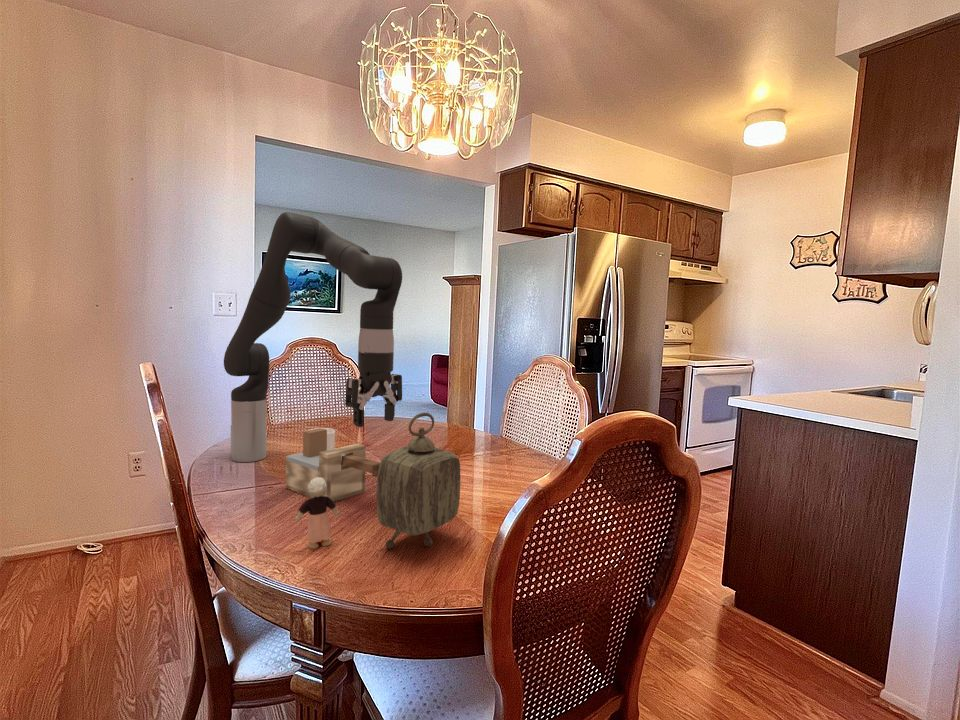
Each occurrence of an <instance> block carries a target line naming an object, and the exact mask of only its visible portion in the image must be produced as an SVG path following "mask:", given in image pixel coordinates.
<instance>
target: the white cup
mask: <svg viewBox="0 0 960 720" xmlns="http://www.w3.org/2000/svg"><path fill="white" fill-rule="evenodd" d="M319 428H320V427H316V428H311V429H307V430H306V431H308V430H313V429H319ZM321 428H322V429H326V430H327V449H335V445H336V443H335V442H336V429H333V428H330V427H321Z"/></svg>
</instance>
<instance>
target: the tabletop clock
mask: <svg viewBox="0 0 960 720" xmlns="http://www.w3.org/2000/svg"><path fill="white" fill-rule="evenodd" d="M423 417H428V418H430V420H431V425H430V427H428V429H426V430H425V428H424V427H420V428H418V432H414V431H413V430H412V426H413V423H414V422H415V421H416V420H417V419H419V418H423ZM434 426H435V419H434V416H433V415H432V414H431V413H429V412H421V413H418V414H416V415H414V416H413V417H412V418H411V419H410V421H409V423H408V431H409V433H410V435H412V436H414V437H413V438H412V439H411V440H410V441H409V443H408V444H407V446H403V447H400V448H398V449H395V450H393V451H390V452H388V453H387V454H385V455H384V456H383V457H382V458H381V459H380V462H379V463H380V466H379V470H378V476H377V480H376V492H375V495H376V513H377V518H378V522H379V524H380V525H381V526H384V527H387V528H389V529H393V530H395V532H394V533H393V536H392V537H391V539H387V540H386V541H385V542H384V543H385V547H386V549H389V550H390V549H393V547H394V546H395V540H396V539H397V537H398V536H399V535H400V534H401V533H403V534H406V535H409V536H419V535H422V534H424V535H425V538H424V540H423V543H424V546H426V547H431V546H432V545H433V542H434V541H433V539H432V537H430V534H429V532H430V531H433V530H435V529H438V528H440V527H442V526H443V525H446V524H447V523H449V522H451V520H453V519H454V518H455V517H456V516H457V515H458V511H459V508H460V507H459V506H460V496H461V495H460V494H461V464H460V459H459V458H458V456H457V455H456V454H455V453H454V452H453V451H450V450H445V449H441V448H436V446H435V444H434V441H432V440H431V439H430V437H427V436H425V435H427V434H428V433H430V432H431V431H432V430H433V428H434Z"/></svg>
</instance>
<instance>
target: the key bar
mask: <svg viewBox="0 0 960 720" xmlns="http://www.w3.org/2000/svg"><path fill="white" fill-rule="evenodd" d="M342 464H343V465H347V466H350V467H353V468H356V469H359V470H363V471H365V473H370V474H371V475H372V477H375V478H376V477H378V470H379V466H380V462H379V461H378V462H377V461H375V460H371V459H367V458H366V459H365V458H361V457H358V456H354V455H351V454H349V455H345V456H342Z"/></svg>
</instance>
